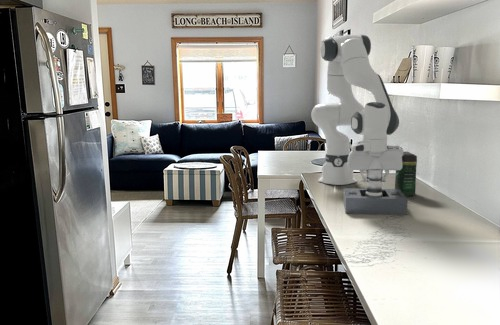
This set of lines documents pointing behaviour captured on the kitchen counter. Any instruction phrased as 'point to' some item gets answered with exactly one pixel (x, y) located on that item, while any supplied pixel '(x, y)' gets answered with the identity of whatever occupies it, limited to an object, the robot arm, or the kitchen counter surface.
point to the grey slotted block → (375, 202)
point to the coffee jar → (407, 174)
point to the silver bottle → (374, 179)
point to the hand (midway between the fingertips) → (373, 181)
